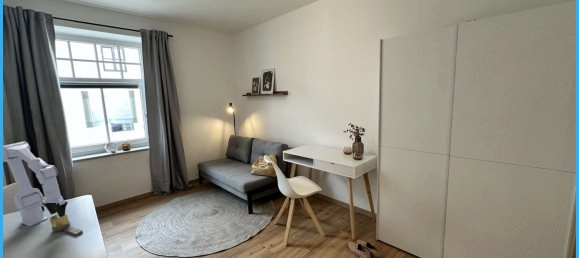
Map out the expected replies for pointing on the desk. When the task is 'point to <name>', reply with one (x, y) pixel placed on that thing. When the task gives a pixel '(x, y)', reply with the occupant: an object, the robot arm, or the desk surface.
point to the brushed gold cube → (59, 221)
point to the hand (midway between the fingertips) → (58, 214)
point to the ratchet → (68, 230)
